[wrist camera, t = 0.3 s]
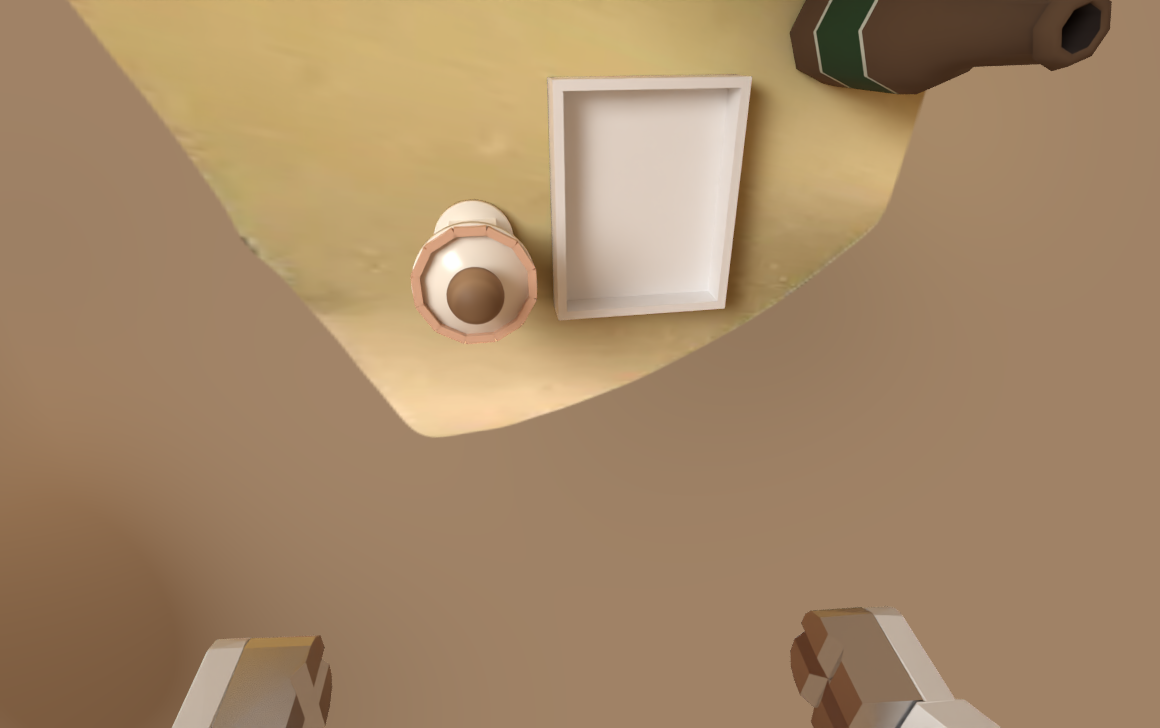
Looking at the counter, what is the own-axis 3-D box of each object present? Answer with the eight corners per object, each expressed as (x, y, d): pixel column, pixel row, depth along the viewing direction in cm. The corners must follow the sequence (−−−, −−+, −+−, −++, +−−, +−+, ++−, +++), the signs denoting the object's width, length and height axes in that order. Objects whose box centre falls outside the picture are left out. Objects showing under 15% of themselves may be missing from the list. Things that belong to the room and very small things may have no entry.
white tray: (547, 77, 48) (552, 79, 45) (735, 74, 51) (752, 76, 48) (553, 305, 58) (558, 320, 55) (711, 294, 60) (724, 308, 57)
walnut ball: (444, 260, 42) (441, 280, 39) (501, 257, 43) (504, 276, 39) (450, 312, 44) (448, 336, 41) (505, 309, 45) (507, 331, 41)
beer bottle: (794, -23, 48) (1045, -71, 27) (883, -21, 49) (1188, -65, 28) (778, 84, 52) (987, 114, 31) (861, 84, 53) (1117, 113, 32)
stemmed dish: (416, 189, 51) (401, 229, 40) (521, 185, 52) (535, 223, 42) (429, 289, 55) (419, 348, 45) (526, 282, 56) (540, 339, 46)
